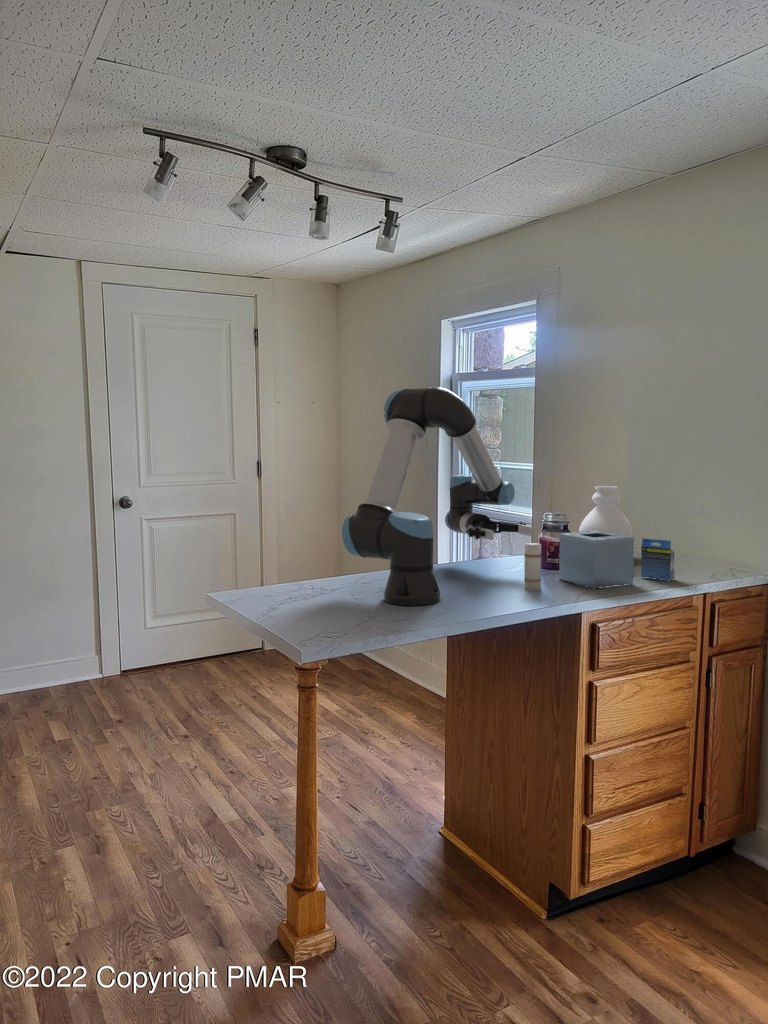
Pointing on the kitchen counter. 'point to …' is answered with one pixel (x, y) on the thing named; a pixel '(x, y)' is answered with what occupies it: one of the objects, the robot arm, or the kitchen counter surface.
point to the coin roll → (532, 566)
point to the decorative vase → (606, 513)
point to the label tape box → (657, 559)
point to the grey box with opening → (596, 558)
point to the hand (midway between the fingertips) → (512, 533)
